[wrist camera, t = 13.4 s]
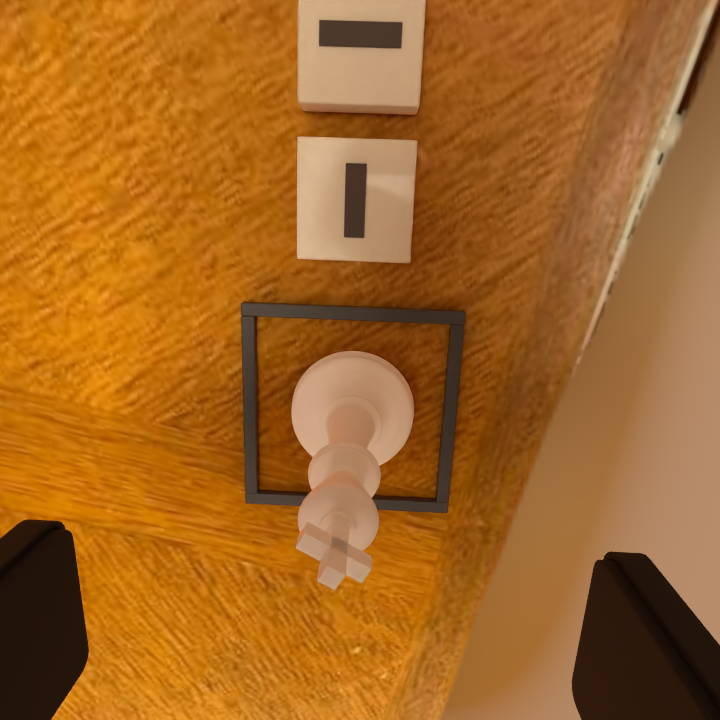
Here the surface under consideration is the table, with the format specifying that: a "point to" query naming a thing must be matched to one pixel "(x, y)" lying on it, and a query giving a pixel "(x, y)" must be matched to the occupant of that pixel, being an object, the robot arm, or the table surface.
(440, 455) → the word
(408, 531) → the table surface
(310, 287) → the table surface
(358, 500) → the chess piece
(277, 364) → the table surface
